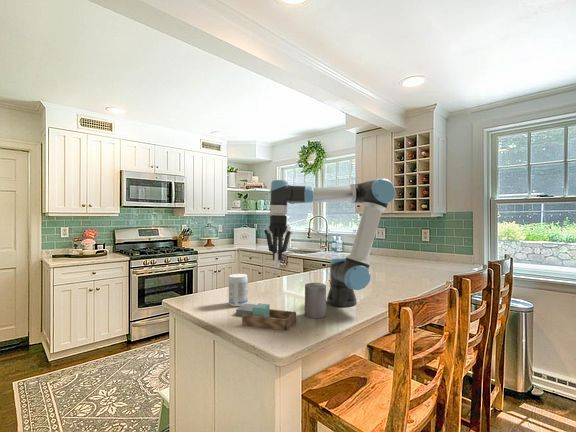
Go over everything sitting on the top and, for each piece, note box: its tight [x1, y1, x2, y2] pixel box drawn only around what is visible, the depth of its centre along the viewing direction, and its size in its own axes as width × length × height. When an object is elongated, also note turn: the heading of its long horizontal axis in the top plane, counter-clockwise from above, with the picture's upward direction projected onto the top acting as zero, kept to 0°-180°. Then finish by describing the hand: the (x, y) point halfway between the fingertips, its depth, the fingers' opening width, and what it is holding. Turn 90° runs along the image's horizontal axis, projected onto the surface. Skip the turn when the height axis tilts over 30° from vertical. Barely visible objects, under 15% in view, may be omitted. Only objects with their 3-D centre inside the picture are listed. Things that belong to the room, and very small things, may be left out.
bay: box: [241, 308, 297, 332], centre depth 131 cm, size 20×11×4 cm, turn 72°
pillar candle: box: [304, 281, 327, 319], centre depth 142 cm, size 10×10×15 cm
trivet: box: [235, 303, 257, 317], centre depth 145 cm, size 10×10×2 cm
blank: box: [253, 303, 271, 317], centre depth 132 cm, size 5×6×7 cm
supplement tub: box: [228, 273, 249, 308], centre depth 158 cm, size 10×10×15 cm
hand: (277, 267), depth 140 cm, fingers closed
